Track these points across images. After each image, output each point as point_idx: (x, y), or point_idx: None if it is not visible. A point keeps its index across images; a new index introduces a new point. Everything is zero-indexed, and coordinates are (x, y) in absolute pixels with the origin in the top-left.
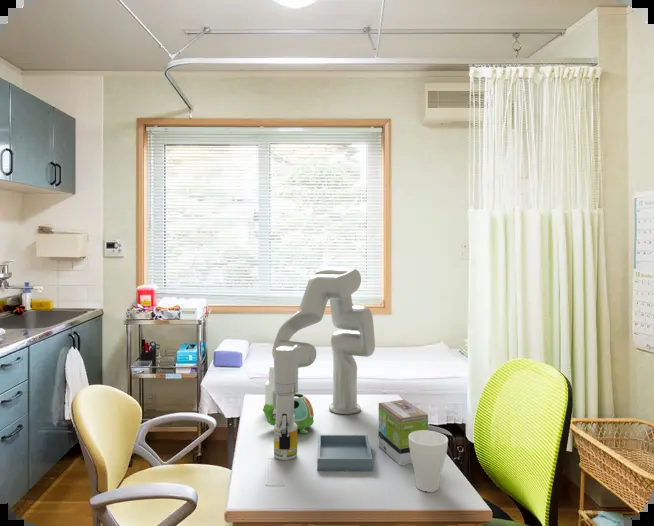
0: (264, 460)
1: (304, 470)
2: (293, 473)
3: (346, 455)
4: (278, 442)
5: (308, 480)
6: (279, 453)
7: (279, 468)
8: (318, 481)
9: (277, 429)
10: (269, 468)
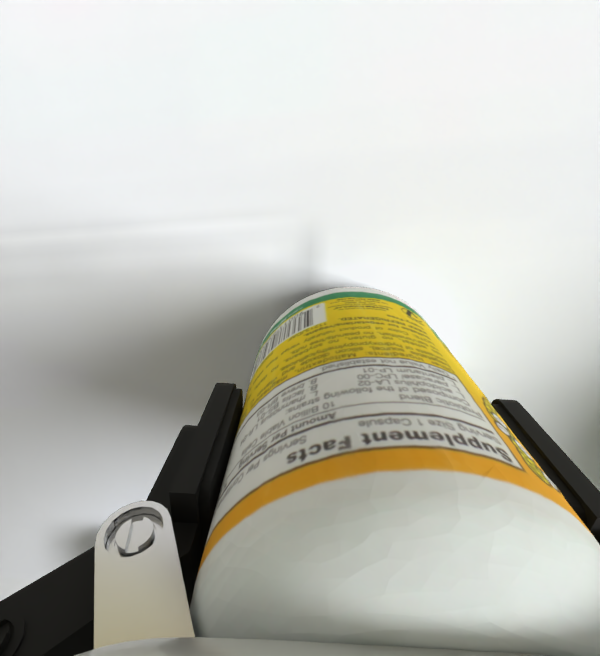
0: (263, 203)
1: (126, 470)
2: (73, 415)
3: None
4: (253, 404)
5: (8, 484)
6: (261, 352)
7: (128, 331)
8: (13, 522)
9: (236, 551)
10: (115, 257)
